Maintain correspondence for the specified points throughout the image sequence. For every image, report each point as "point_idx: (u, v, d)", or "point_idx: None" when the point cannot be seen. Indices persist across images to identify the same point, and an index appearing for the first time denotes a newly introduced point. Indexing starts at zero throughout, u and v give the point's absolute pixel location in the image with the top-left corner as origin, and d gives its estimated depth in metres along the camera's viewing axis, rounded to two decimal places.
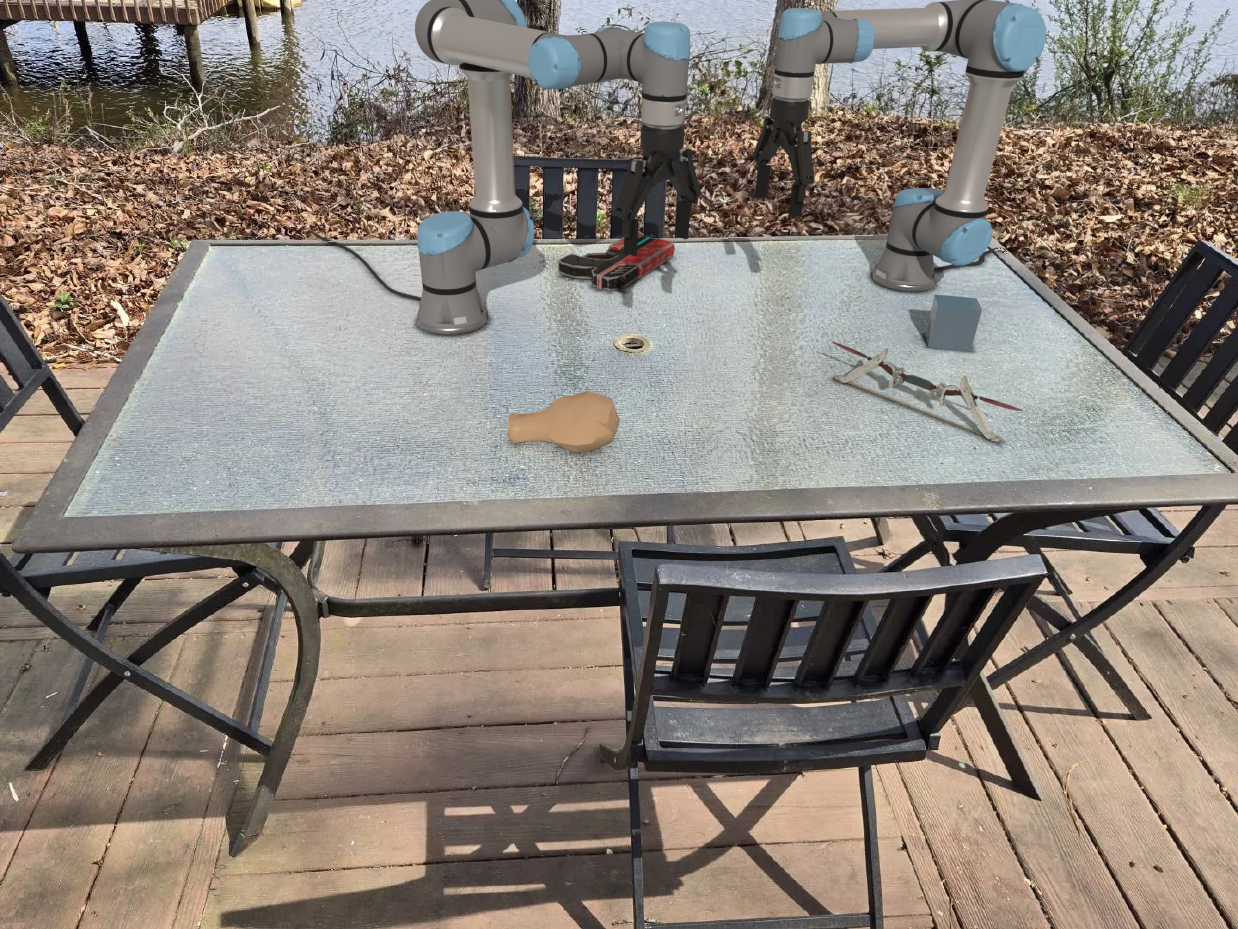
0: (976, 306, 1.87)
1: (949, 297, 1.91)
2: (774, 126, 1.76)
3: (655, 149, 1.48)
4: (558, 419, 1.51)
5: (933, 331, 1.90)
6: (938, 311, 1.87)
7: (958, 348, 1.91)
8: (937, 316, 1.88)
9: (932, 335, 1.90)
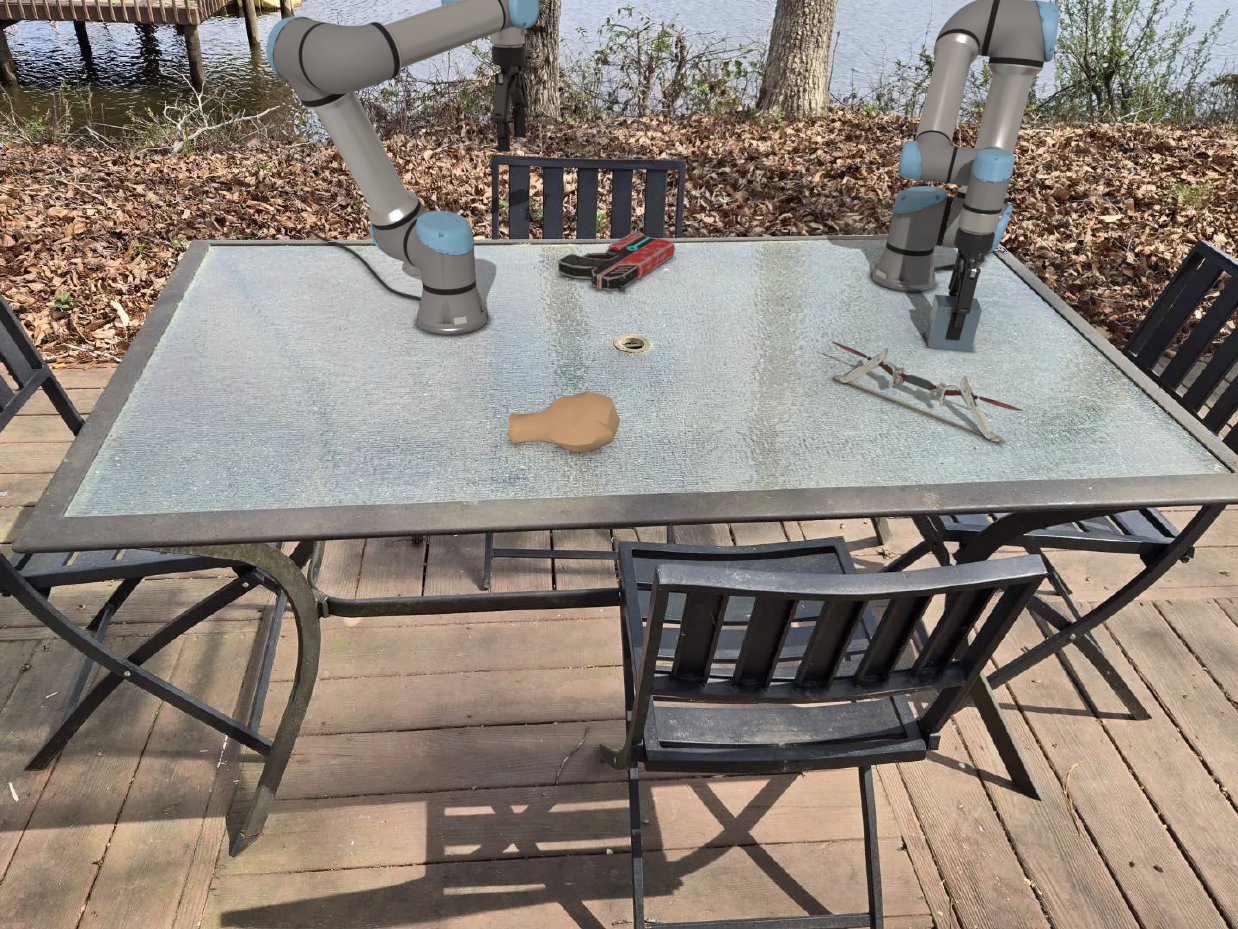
0: (976, 306, 1.87)
1: (949, 297, 1.91)
2: None
3: (511, 64, 1.94)
4: (558, 419, 1.51)
5: (933, 331, 1.90)
6: (938, 311, 1.87)
7: (958, 348, 1.91)
8: (937, 316, 1.88)
9: (932, 335, 1.90)
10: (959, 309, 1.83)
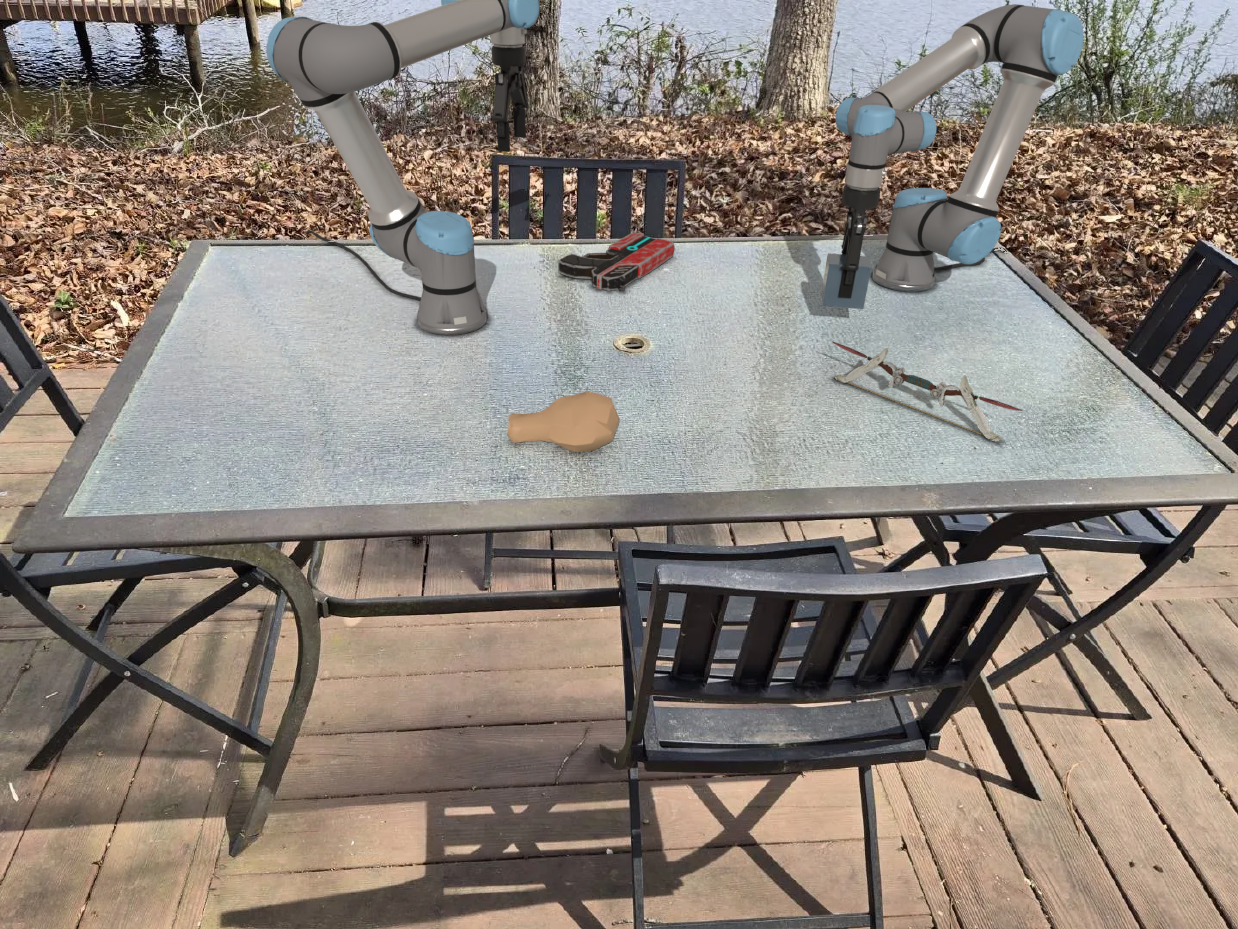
0: (867, 263, 1.89)
1: (841, 255, 1.93)
2: (864, 218, 1.82)
3: (511, 64, 1.94)
4: (558, 419, 1.51)
5: (826, 289, 1.92)
6: (829, 269, 1.89)
7: (851, 306, 1.93)
8: (828, 274, 1.90)
9: (825, 293, 1.92)
10: (847, 265, 1.84)
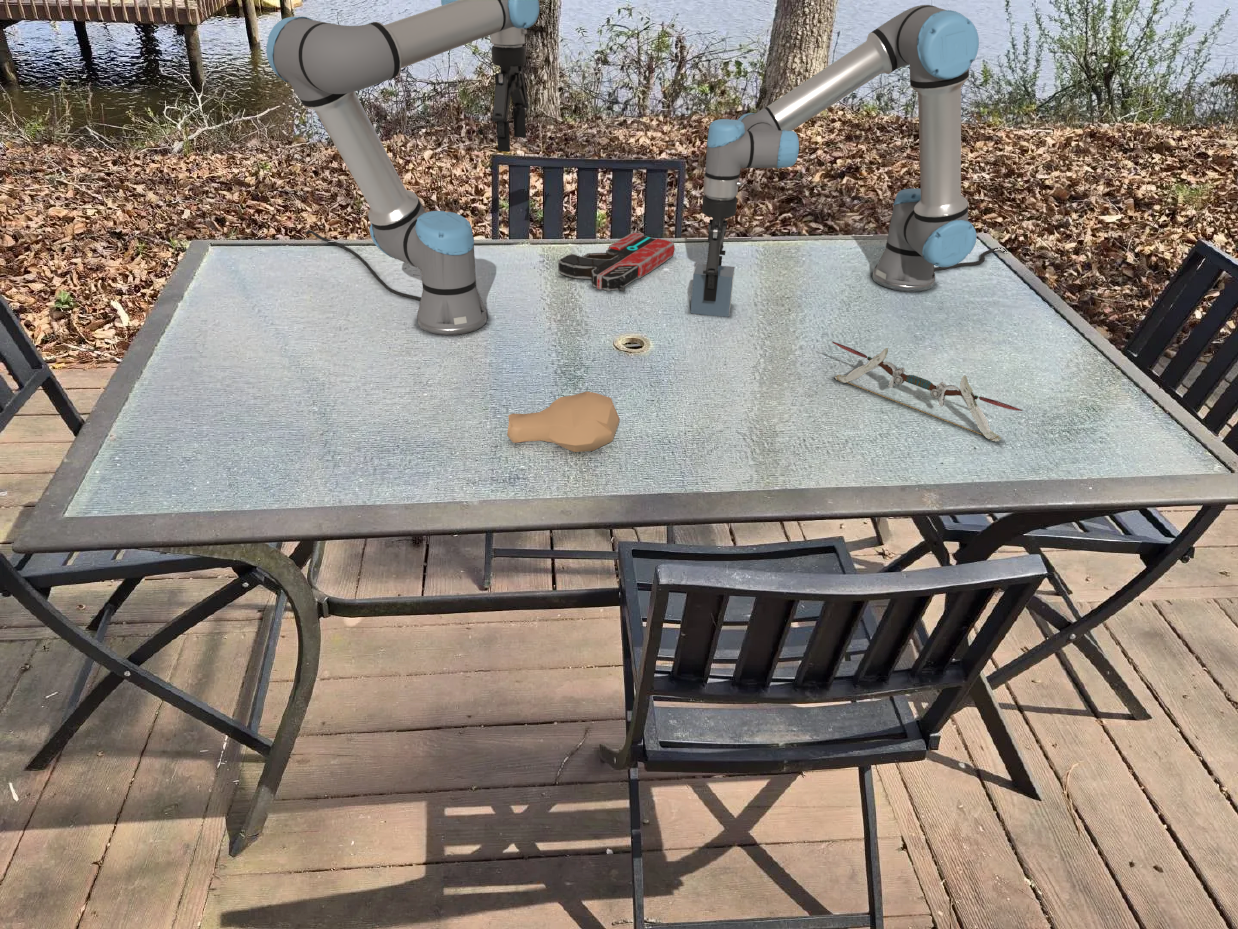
0: (730, 273, 1.99)
1: None
2: (721, 226, 1.92)
3: (511, 64, 1.94)
4: (558, 419, 1.51)
5: (692, 297, 2.02)
6: (694, 278, 1.99)
7: (717, 314, 2.03)
8: (693, 283, 2.00)
9: (692, 301, 2.03)
10: (707, 270, 1.92)
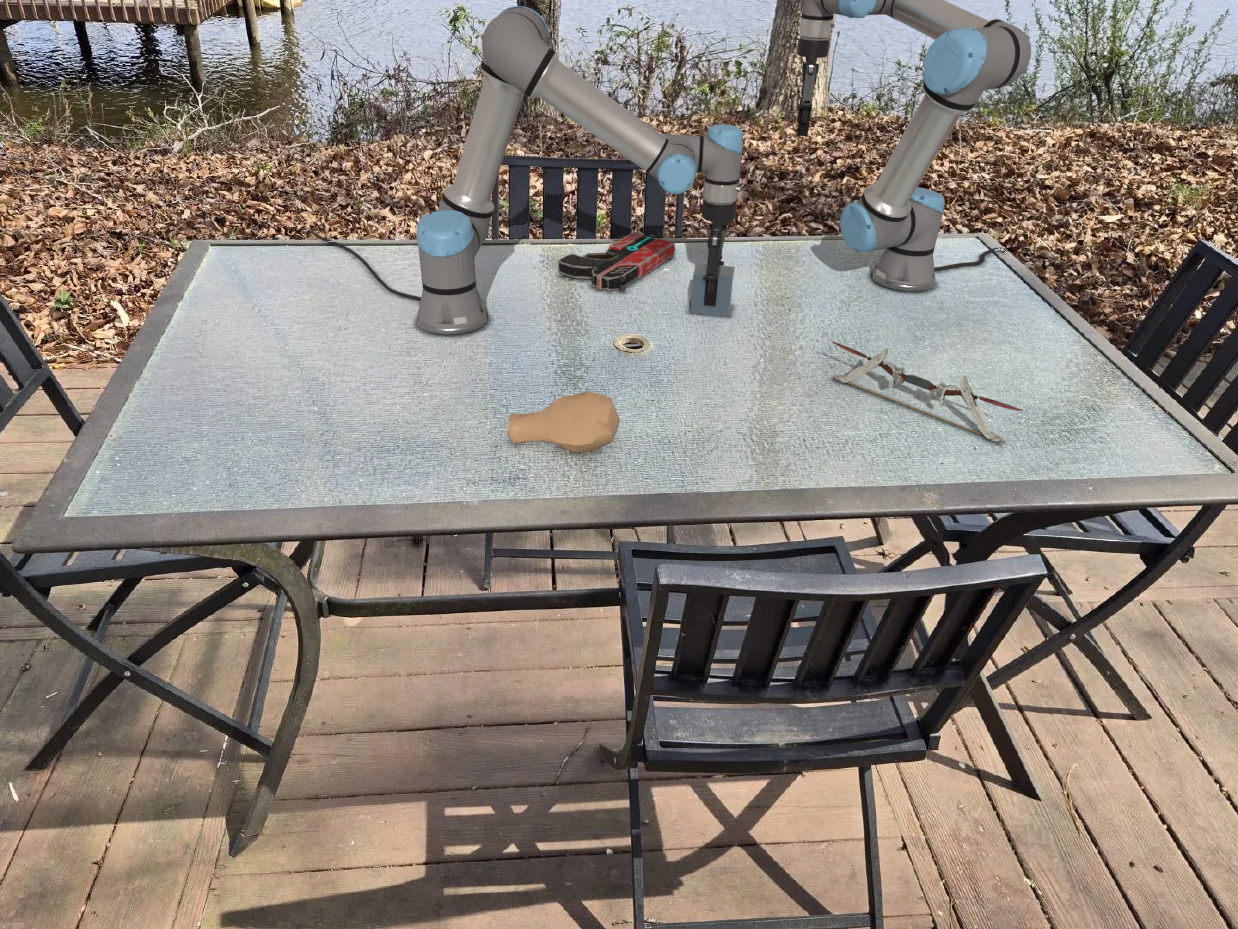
0: (729, 273, 1.99)
1: None
2: None
3: (725, 220, 1.91)
4: (558, 419, 1.51)
5: (692, 297, 2.02)
6: (694, 278, 1.99)
7: (717, 314, 2.03)
8: (693, 283, 2.00)
9: (692, 301, 2.03)
10: (802, 102, 2.11)
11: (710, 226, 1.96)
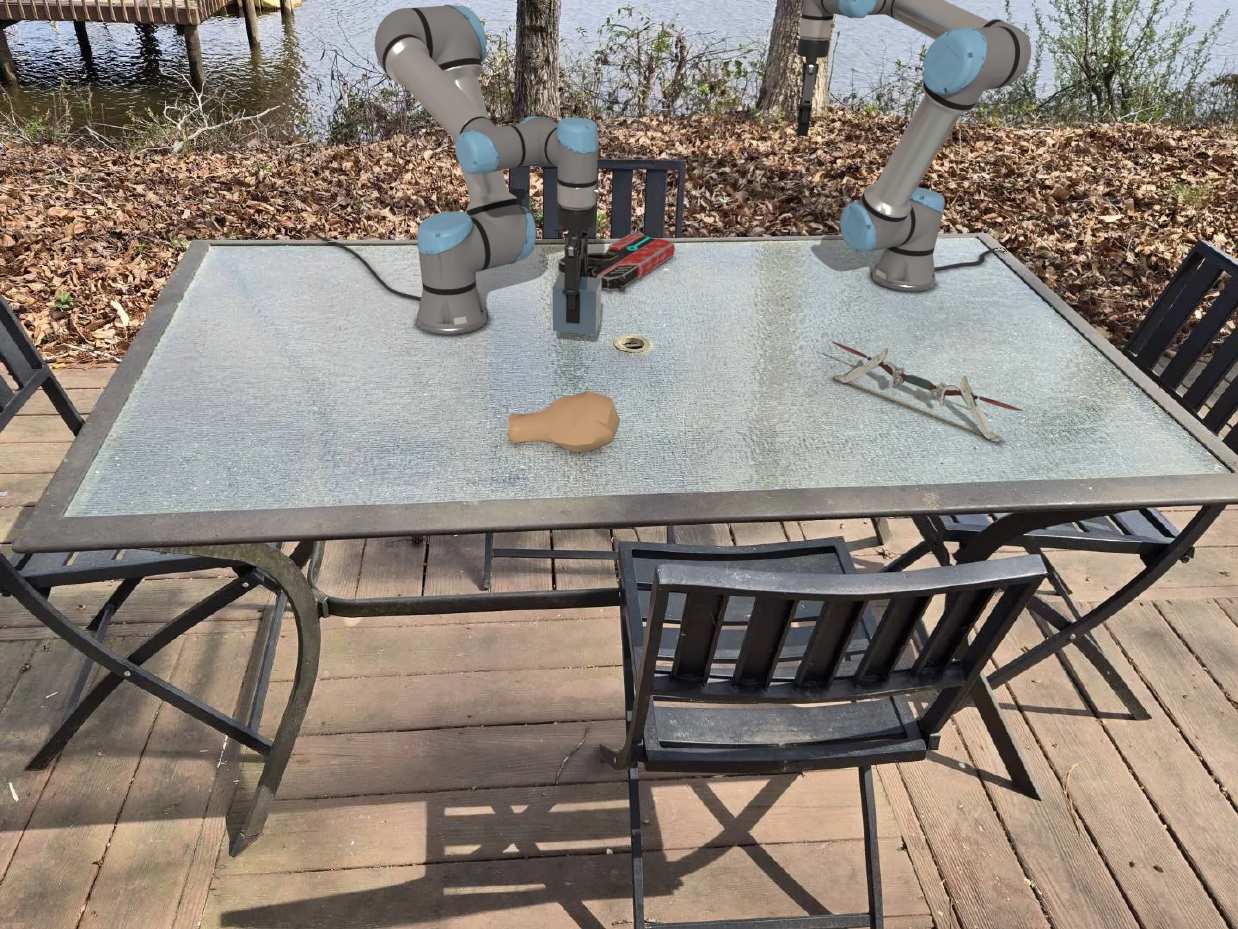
0: (594, 286, 1.76)
1: None
2: None
3: (582, 227, 1.68)
4: (558, 419, 1.51)
5: (553, 314, 1.79)
6: (553, 292, 1.76)
7: (582, 331, 1.80)
8: (553, 297, 1.77)
9: (553, 318, 1.79)
10: (802, 102, 2.11)
11: None
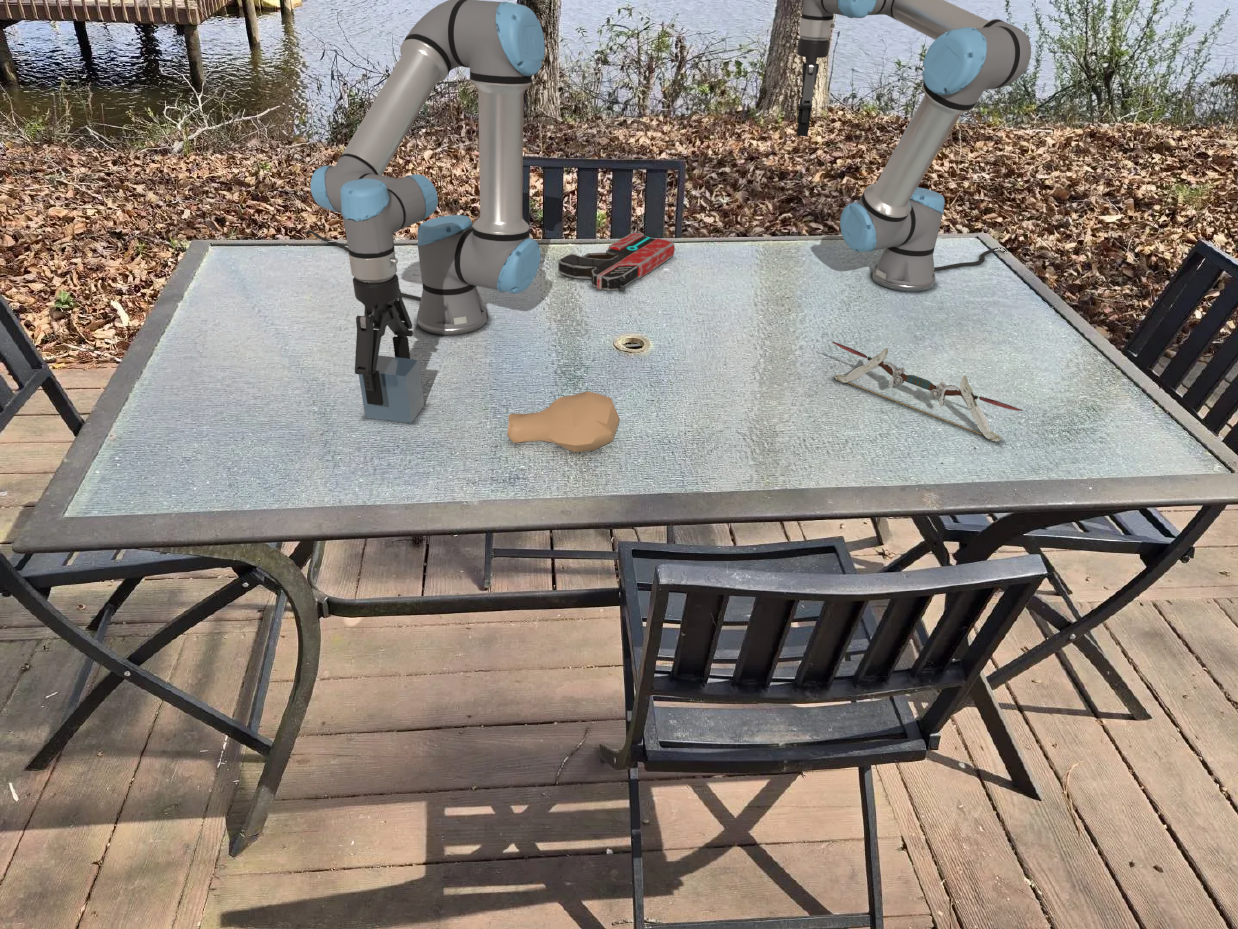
0: (405, 370, 1.57)
1: (386, 358, 1.60)
2: None
3: (379, 302, 1.48)
4: (558, 419, 1.51)
5: (363, 399, 1.59)
6: (360, 377, 1.57)
7: (397, 419, 1.60)
8: (361, 382, 1.57)
9: (364, 404, 1.60)
10: (802, 102, 2.11)
11: None
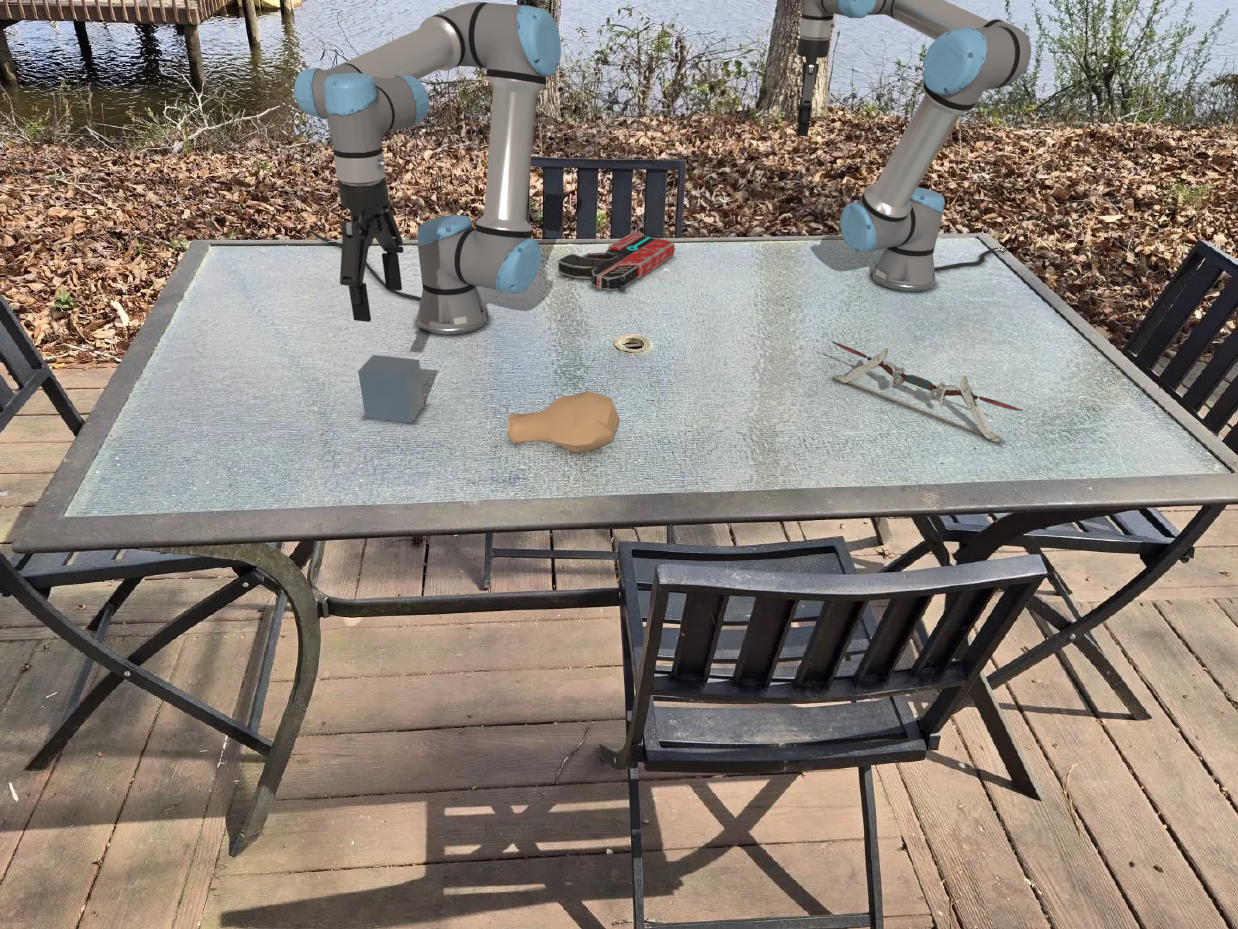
0: (405, 370, 1.57)
1: (386, 358, 1.60)
2: None
3: (366, 207, 1.39)
4: (558, 419, 1.51)
5: (363, 399, 1.59)
6: (360, 377, 1.57)
7: (397, 419, 1.60)
8: (361, 382, 1.57)
9: (364, 404, 1.60)
10: (802, 102, 2.11)
11: None
